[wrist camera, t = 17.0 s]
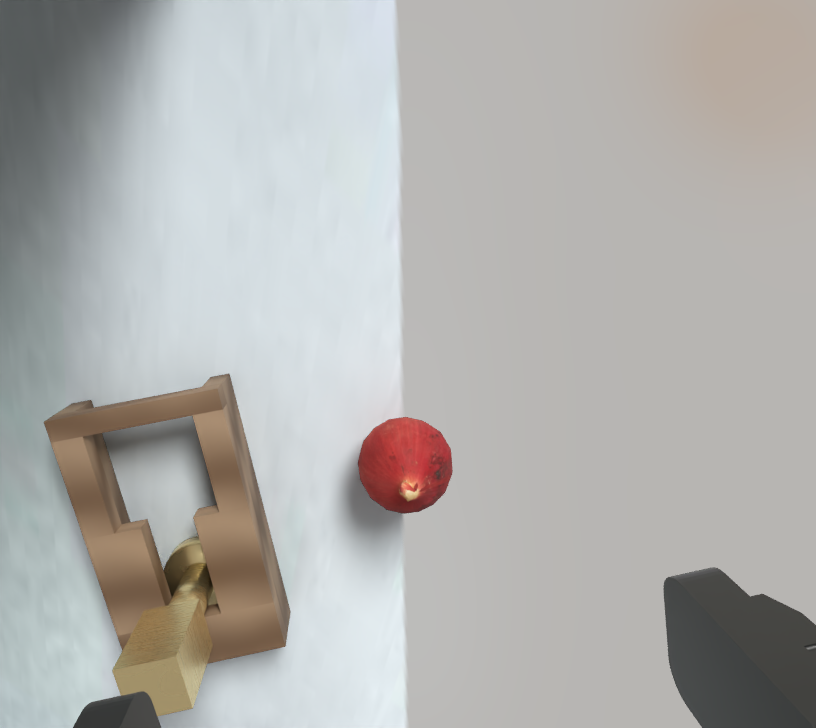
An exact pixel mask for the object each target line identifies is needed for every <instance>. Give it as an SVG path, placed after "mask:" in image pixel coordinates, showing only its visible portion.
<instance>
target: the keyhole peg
mask: <svg viewBox="0 0 816 728" xmlns="http://www.w3.org/2000/svg"><path fill="white" fill-rule="evenodd" d="M164 574H165V578H166V581H167V584H168V587H169V590H170V594H171V597H172V599H171V601H170V603H169V605H167V606H162V607H158V608H153V609H148V610H144V611H143V613H142V615H141V617H140V619H139V621H138V623H137V625H136V627H135V628H134V630H133V632H132V634H131V636H130V638H129V640H128V642H127V644H126V645H125V647H124V649H123V651H122V653H121V655H120V657H119V659H118V661H117V662H116V664H115V666H114V668H113V670H112V671H113V674H114V677H115V680H116V683H117V686H118V689H119V691H120V694H121V696H122V695H127V694H131V693H136V692H141V691H144V692H146V693H147V694H148V695H149V696H150V698H151V700H152V703H153V705H154V708H155V711H156V714H157V716H161V715H165V714H170V713H174V712H179V711H183V710H188V709H192V708H193V706H194V703H195V700H196V696H197V693H198V690H199V687H200V684H201V681H202V678H203V674H204V671H205V668H206V665H207V662H208V659H209V656H210V653H211V649H212V646H213V643H212V640H211V636H210V633H209V630H208V626H207V623H206V619H205V616H204V614H205V611H206V608H207V606H209V605H213V604H218V601H217V598H216V594H215V591H214V588H213V584H212V581H211V577H210V574H209V570H208V567H207V563H206V560H205V557H204V553H203V550H202V546H201V543H200V539H199V536H197V537H192V538H189V539H187V540H185V541H183V542H182V543H180V544H179V545H178V546H177V547H176V548H175V549H174V551H173V552H172V554H171V556H170V558H169V560H168V561H167V563H166V565H165V568H164Z"/></svg>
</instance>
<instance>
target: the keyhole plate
mask: <svg viewBox="0 0 816 728" xmlns="http://www.w3.org/2000/svg"><path fill="white" fill-rule="evenodd" d="M187 416H193V419H194V423H195V427H196V430H197V434H198V437H199V441H200V445H201V448H202V452H203V455H204V459H205V463H206V466H207V470H208V474H209V477H210V481H211V484H212V488H213V492H214V495H215V499H216V502H217V505H214V506H209V507H204V508H199V509H198V510H197V512H196V514H195V516H194V517H193V519H194V522H195V526H196V529H197V532H198V536H199V539H200V543H201V546H202V550H203V553H204V557H205V560H206V563H207V567H208V570H209V574H210V577H211V581H212V584H213V588H214V591H215V594H216V598H217V601H218V604H213V605H209V606H207V608H206V611H205V614H204V616H205V619H206V623H207V626H208V630H209V633H210V636H211V640H212V643H213V646H212V649H211V653H210V656H209V659H208V662H207V664H208V663H213V662H217V661H222V660H226V659H231V658H235V657H240V656H245V655H249V654H254V653H258V652H263V651H267V650H272V649H277V648H281V647H285V645H286V639H287V632H288V625H289V618H290V608H289V604H288V601H287V597H286V593H285V589H284V585H283V581H282V577H281V573H280V569H279V565H278V562H277V558H276V554H275V550H274V546H273V542H272V538H271V534H270V530H269V526H268V523H267V519H266V515H265V511H264V507H263V503H262V499H261V495H260V491H259V487H258V484H257V480H256V476H255V472H254V468H253V464H252V460H251V456H250V452H249V448H248V445H247V441H246V437H245V433H244V429H243V425H242V421H241V417H240V413H239V409H238V406H237V402H236V398H235V394H234V390H233V386H232V382H231V378H230V374H225V375H220V376H214V377H210V379H209V380H208V381H207V382H206V383H205V384H204V385H203V386H202V387H200V388H195V389H189V390H184V391H179V392H174V393H168V394H163V395H158V396H153V397H148V398H142V399H137V400H132V401H127V402H121V403H116V404H111V405H106V406H101V407H95V408H94V407H93V404H92V401H91V400H88V401H83V402H78V403H73V404H71V405H69V406H68V407H66V408H65V409H63V410H61V411H60V412H58V413H57V414H55V415H54V416H52V417H51V418H49V419H48V420H46V421H44V424H45V427H46V430H47V433H48V436H49V439H50V442H51V444H52V447H53V450H54V453H55V456H56V459H57V462H58V465H59V468H60V471H61V474H62V476H63V479H64V482H65V485H66V488H67V491H68V494H69V497H70V500H71V503H72V506H73V508H74V511H75V514H76V517H77V520H78V523H79V526H80V529H81V532H82V535H83V537H84V540H85V543H86V546H87V549H88V552H89V555H90V558H91V561H92V564H93V567H94V569H95V572H96V575H97V578H98V581H99V584H100V587H101V590H102V593H103V596H104V598H105V601H106V604H107V607H108V610H109V613H110V616H111V619H112V622H113V625H114V628H115V630H116V633H117V636H118V639H119V642H120V645H121V648H122V651H123V649H124V647H125V645H126V644H127V642H128V640H129V638H130V636H131V634H132V632H133V630H134V628H135V627H136V625H137V623H138V621H139V619H140V617H141V615H142V613H143V611H144V610H148V609H153V608H158V607H162V606H167V605H169V603H170V601H171V599H172V597H171V594H170V590H169V587H168V584H167V581H166V578H165V574H164V571H163V568H162V565H161V562H160V558H159V555H158V552H157V549H156V546H155V542H154V539H153V536H152V533H151V530H150V526H149V523H148V520H147V519H145V520H140V521H135V522H130V520H129V517H128V513H127V510H126V507H125V504H124V501H123V498H122V495H121V492H120V488H119V485H118V482H117V479H116V476H115V473H114V470H113V467H112V463H111V460H110V457H109V454H108V451H107V448H106V445H105V442H104V438H103V435H102V433H104V432H109V431H114V430H120V429H125V428H130V427H135V426H140V425H145V424H150V423H156V422H161V421H166V420H171V419H176V418H181V417H187Z"/></svg>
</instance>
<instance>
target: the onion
mask: <svg viewBox="0 0 816 728" xmlns="http://www.w3.org/2000/svg"><path fill="white" fill-rule="evenodd" d="M358 466H359V474H360V480H361V482H362V484H363V485H364V487H365V489H366V491H367V492H368V494H369V496H370V498H372V499H373V500H374V501H376V502H377V503H378V504H380V505H381V506H382V507H384V508H385V509H386V510H390V511H394V512H399V513H412V512H419V511H421V510H423V509H425V508H427V507H429V506H431V505H433V504H434V503H435V502H436V501H437V500H438V499H439V498H440V497H441V496H442V495H443V494H444V493H445V491H446V488H447V486H448V483H449V480H450V478H451V475H452V458H451V449H450V447H449V445H448V444H447V442H446V440H445V439H444V437H443V435H442V434H441V432H440V431H438V430H437V429H435V428H433V427H432V426H430V425H429V424H427V423H426V422H424V421H421V420H417V419H412V418H408V417H403V418H396V419H389V420H387V421H386V422H384V423H382V424H381V425H379V426H377V427H375V428H374V429H373V430H372V431H371V433H370V434H369V435H368V436H367V437H366V439H365V440H364V441H363V445H362V448H361V452H360V455H359V460H358Z"/></svg>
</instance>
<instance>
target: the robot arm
mask: <svg viewBox="0 0 816 728" xmlns="http://www.w3.org/2000/svg"><path fill="white" fill-rule="evenodd" d="M664 602H665V615H666V628H667V642H668V656H669V663H670V668H671V672H672V675H673V678H674V681H675V684H676V686H677V688H678V691H679V693H680V695H681V697H682V698H683V700H684V702H685V704H686V705H687V707H688V708H689V710H690V711H691V712H692V713H693V715H694V717H695V718H696V719H697V721H698V722H699V724H700V725H701V726H702V728H816V625H815V624H814V623H812V622H811V621H810V620H809V619H808V618H807V617H806V616H804V615H803V614H802V613H800V612H798V611H796V610H794V609H792V608H790V607H788V606H786V605H784V604H782V603H780V602H778V601H776V600H774V599H772V598H770V597H768V596H766V595H764V594H760V595H755V596H751V597H750V596H749V595H748V594H747V593H745V592H744V591H743V590H742V589H741V588H740V587H739V586H738V585H737V584H736V583H735V582H733V581H732V580H731V579H730V578H729V577H728V576H727V575H726V574H725V573H724V572H722V571H721V570H720V569H718V568H708V569H703V570H699V571H694V572H690V573H685V574H681V575H676V576H672V577H668V578H666V580H665V582H664ZM73 728H161V726H160V723H159V720H158V717H157V714H156V711H155V708H154V705H153V703H152V700H151V698H150V696H149V695H148V694H147V693H146V692H144V691H141V692H136V693H131V694H127V695H122V696H118V697H113V698H109V699H104V700H100V701H95V702H91V703H89V704H88V705H87V706H86V707H85V708H84V709H83V711H82V712H81V714H80V716H79V718H78V719H77V721H76V723H75V725H74V727H73Z"/></svg>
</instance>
